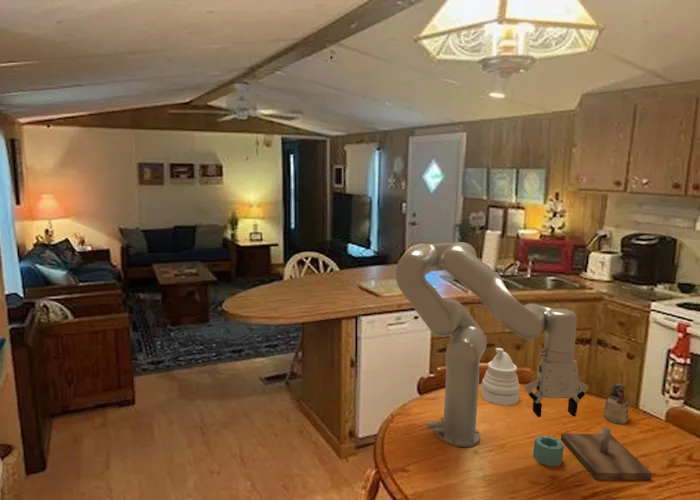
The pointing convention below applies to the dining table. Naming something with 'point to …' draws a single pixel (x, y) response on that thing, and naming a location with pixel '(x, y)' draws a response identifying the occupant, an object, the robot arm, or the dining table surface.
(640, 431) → the dining table surface
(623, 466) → the rod stand
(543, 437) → the bead
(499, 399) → the honey pot
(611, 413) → the figurine
